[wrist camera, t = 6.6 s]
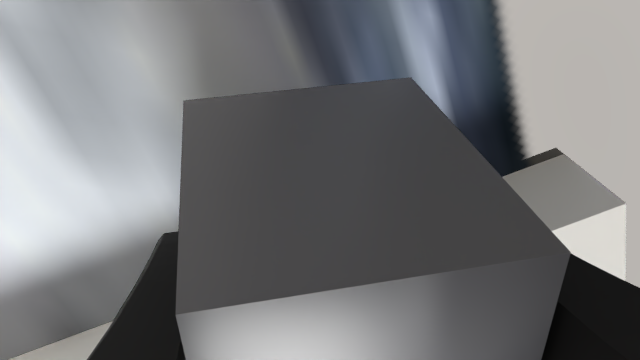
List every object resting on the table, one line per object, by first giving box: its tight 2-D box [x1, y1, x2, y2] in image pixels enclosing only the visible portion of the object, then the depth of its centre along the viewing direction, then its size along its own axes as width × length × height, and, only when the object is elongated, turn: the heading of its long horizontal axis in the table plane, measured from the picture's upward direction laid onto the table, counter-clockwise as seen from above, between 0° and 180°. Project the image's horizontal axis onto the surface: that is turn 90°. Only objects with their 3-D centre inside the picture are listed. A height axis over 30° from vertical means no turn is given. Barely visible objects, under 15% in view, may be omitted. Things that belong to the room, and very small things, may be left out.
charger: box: [175, 78, 571, 360], centre depth 10 cm, size 5×4×7 cm
